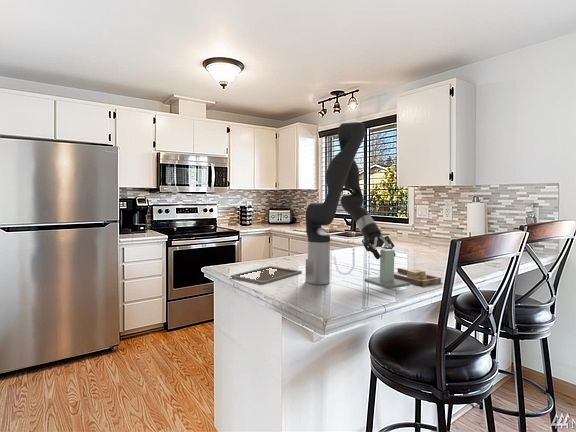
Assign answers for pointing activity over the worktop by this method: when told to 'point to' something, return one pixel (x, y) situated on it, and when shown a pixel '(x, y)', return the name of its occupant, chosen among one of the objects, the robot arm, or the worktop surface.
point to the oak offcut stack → (417, 274)
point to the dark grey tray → (268, 275)
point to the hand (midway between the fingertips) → (386, 257)
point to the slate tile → (387, 284)
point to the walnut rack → (429, 280)
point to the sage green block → (387, 265)
